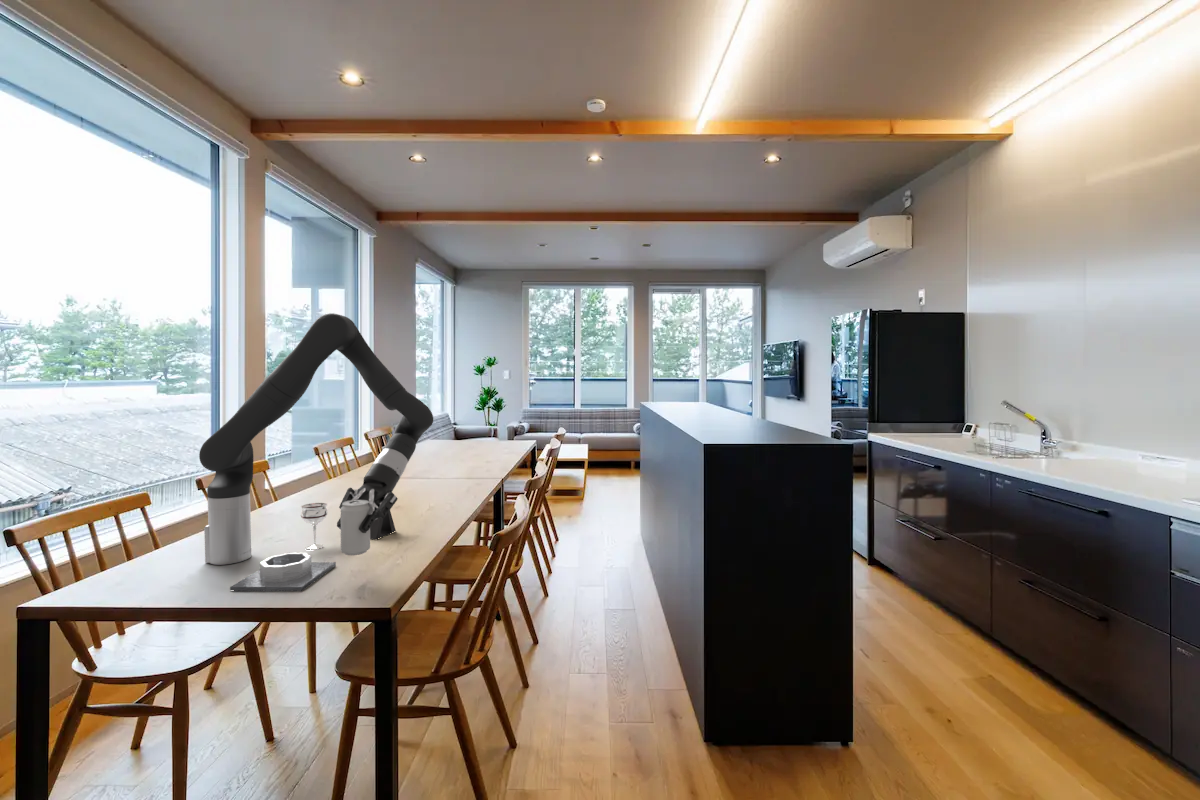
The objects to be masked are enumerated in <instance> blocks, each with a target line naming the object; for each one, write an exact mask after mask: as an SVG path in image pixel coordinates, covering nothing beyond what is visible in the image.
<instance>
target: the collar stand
mask: <svg viewBox="0 0 1200 800" xmlns="http://www.w3.org/2000/svg"><path fill="white" fill-rule="evenodd" d="M336 566H337V565H336V561H329V562H326V561H324V562H322V561H316V562H315V561H312V556H311V555H309V553H307V552H285V553H280V554H276V555H270V556H269V557H267V558H265V559H264V560H262V561H260V562H259V569H258V570H257V571H255V572H253V573H252V574H249V575H248V576H247V577H245V578H243V579H242V580H239V581H238V582H236V583H234V584H232V585H231V586H230V587H229V590H234V591H233V592H302V591H304V590H306V589H307V588H308V587H310V586H311V585H312V584H314V583H315V582H316V581H317V579H318V580H319V579H320V578H322V577H323V576H325V573H326V574H327V573H328V572H330V571H331V570H332V569H335V567H336ZM314 581H315V582H314Z"/></svg>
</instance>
